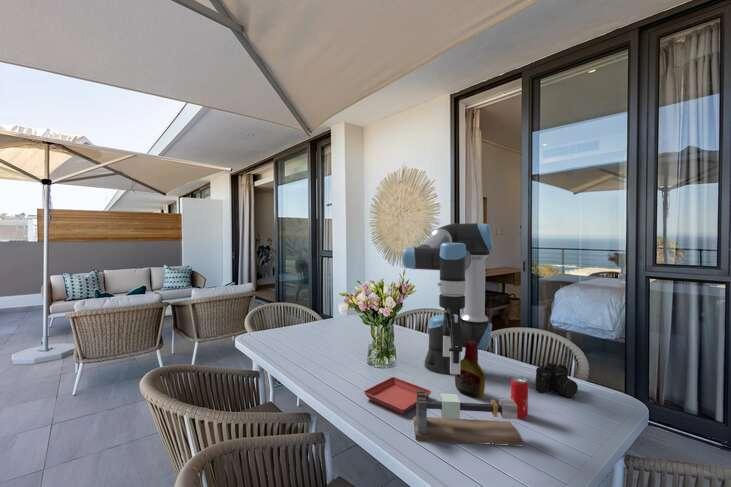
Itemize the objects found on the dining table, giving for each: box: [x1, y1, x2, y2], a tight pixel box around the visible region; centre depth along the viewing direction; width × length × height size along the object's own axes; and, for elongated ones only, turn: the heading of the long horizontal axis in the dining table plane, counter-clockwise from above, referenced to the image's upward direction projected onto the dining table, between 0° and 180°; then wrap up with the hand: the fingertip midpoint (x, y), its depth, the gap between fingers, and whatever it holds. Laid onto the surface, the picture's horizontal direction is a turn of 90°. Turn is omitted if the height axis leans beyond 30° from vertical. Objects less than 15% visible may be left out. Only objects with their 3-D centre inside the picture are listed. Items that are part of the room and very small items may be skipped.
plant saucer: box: [363, 376, 432, 414], centre depth 122 cm, size 18×18×3 cm
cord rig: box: [413, 390, 524, 446], centre depth 101 cm, size 10×30×10 cm, turn 85°
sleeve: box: [439, 393, 461, 419], centre depth 102 cm, size 5×5×5 cm
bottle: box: [454, 341, 486, 398], centre depth 127 cm, size 12×6×20 cm, turn 37°
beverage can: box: [510, 376, 529, 419], centre depth 112 cm, size 5×5×12 cm
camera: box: [535, 362, 579, 398], centre depth 128 cm, size 14×11×10 cm
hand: (451, 364), depth 101 cm, fingers open, 13 cm apart
